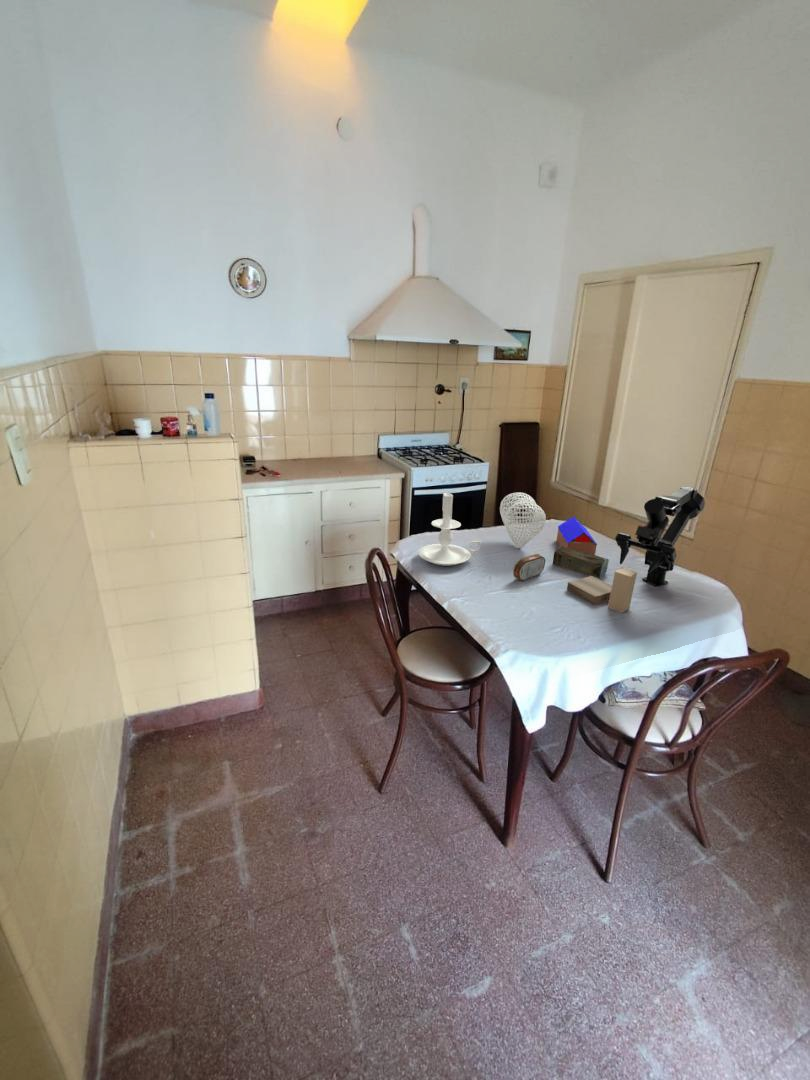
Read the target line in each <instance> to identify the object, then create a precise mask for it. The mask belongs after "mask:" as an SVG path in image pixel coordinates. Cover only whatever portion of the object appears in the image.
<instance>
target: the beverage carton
mask: <svg viewBox="0 0 810 1080" xmlns="http://www.w3.org/2000/svg"><path fill="white" fill-rule="evenodd" d="M553 552H554V553H553V557H552V565H553V566H556V567H558V568H559V567H560V568H562V569H566V570H569V571H572V572H576V573H579V574H583V575H587V576H588V577H589V576H593V577H595V578H597V579H599V580H601V578H602V577H603V576H604V575H605V574H606V573H607V571H608V567H609V561H610V559H608V558H607V557H606V558H605V557H602V556H598V555H596V554H595V555H592V554H589V553H585V552H582V551H578V550H575V549H571V548H568V547H564V546H561V547H560V546H559V548H557V549H556V550H555V551H553Z"/></svg>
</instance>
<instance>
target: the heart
mask: <svg viewBox="0 0 810 1080" xmlns="http://www.w3.org/2000/svg"><path fill="white" fill-rule="evenodd" d="M521 510H522V511H521ZM524 510H525V511H524ZM499 513H500V514H499V515H500V516H501V521H502V522H503V525H504V527H505V530H506V532H507V534H508V537H509V538H510V540H511V542H512V544H513V546H514V547H515V549H522V548H523V547H525V546H526V545H527V544H528V543H529V542H530V541H531V540H533V539H534V538H536V536H537V535H539V534H540V533H541V531H542V530H543V529H544V527H545V524H546V519H547V517H546V513H545V511H544V510H543V509H542V507H541V506H539V505H538V504H537V503H536V500H535V499H534V498H533V497H532V496H531V495H529V494H527V493H526V492H513V493H509V494H507V495H505V496H504V497H503V499H502V500H501V502H500V506H499ZM518 514H519V516H518ZM521 515H522V516H521ZM518 546H519V547H518Z"/></svg>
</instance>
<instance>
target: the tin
mask: <svg viewBox="0 0 810 1080" xmlns="http://www.w3.org/2000/svg"><path fill="white" fill-rule="evenodd" d="M545 565H546V558H545V557H544V556H543V555H541V554H539V553H535V554H532V555H528V556H524V557H522V558H520V559H519V560H517V562H516V564H515V565H514V568H513V570H512V571H513V572H512V573H513V576H514V578H515V579H518V580H520V581H521V582H522V581H526V580H529V579H532V578H534V577H537V576H539V575H540V574H541V573H542V572H543V571H544V568H545Z"/></svg>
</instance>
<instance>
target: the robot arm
mask: <svg viewBox="0 0 810 1080" xmlns="http://www.w3.org/2000/svg"><path fill="white" fill-rule="evenodd" d="M705 504H706V503H705V497H704V496H703V495H701V493H699V492H698V489H697V488H695V487H689V486H685V485H684V486H681V487H680V488H679V489H678V490H677V491H675V492H674V493H672V494H670V495H660V496H655V498H653V499H650V500H647V501H645V503H644V506H643V509H644V512H645V515H646V519H647V520H648V521H647V523H646V525H644V526H642V525H637V529H636V532H635V536H636V540H635V539H632V537H631V535H630V534H628V533H623V532H618V533H617V534H616V535H615V537H614V539H615V543H616V544H617V546H618V547H619V548H620V556H619V565H622V564H623V563H624V562H625V559H626V557H627V556H628V554H629V551H630V548H631V547H635V548H640V549H644V550H646V552H645V554H644V565H645V566H646V565H648V566H649V567H648V570H647V573H646V576H645V577H643V578H641V579H642V581H644V582H646V583H648V584H650V585H653V586H655V587H660V586H663V585H665V584H669V581H668V580H666V575H667V572H673V570H674V568H675V562H676V559H677V556H678V554H677V551H676V547H674V546H675V545H676V543H677V541H678V539H679V538H680V536H681V534H682V533H683V531H684V529H685V528H686V526H687V524H688V522H689V521H690V520H692V519H694V518H696V517H698V515H699V514H700V513H701V512H702V511H703V510H704V508H705ZM668 516H670V517H674V518H673V519H672V521H671V522H670V519H669V517H668ZM669 523H670V525H669ZM668 525H669V526H668ZM666 528H667V529H666ZM665 530H666V531H665Z"/></svg>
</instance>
